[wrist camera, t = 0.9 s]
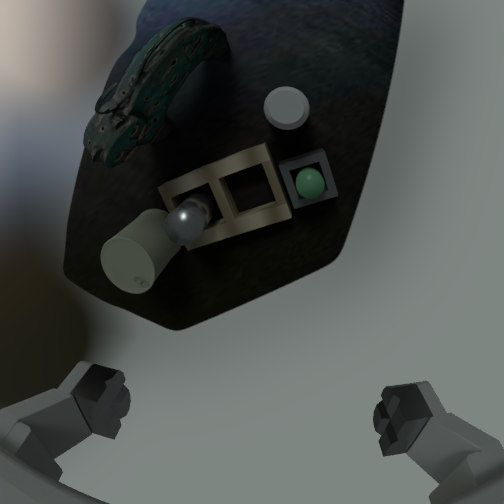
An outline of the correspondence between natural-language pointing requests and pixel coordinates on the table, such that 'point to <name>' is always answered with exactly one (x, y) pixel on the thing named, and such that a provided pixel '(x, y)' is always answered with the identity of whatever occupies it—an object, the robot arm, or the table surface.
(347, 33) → the table surface
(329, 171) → the button box
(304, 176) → the button
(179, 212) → the seated billet
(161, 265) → the can
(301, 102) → the supplement bottle
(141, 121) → the green curved lump
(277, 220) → the rack
